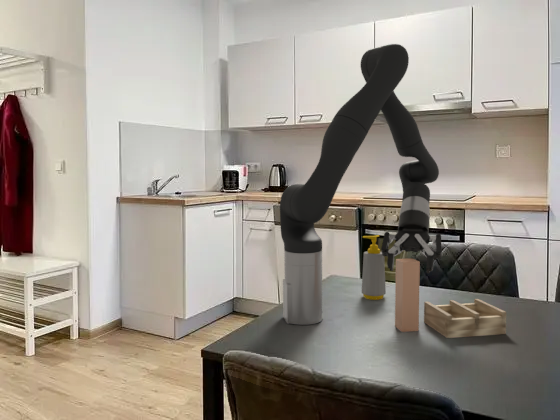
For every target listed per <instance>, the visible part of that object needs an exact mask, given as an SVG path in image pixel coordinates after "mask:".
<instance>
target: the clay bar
mask: <svg viewBox="0 0 560 420" xmlns="http://www.w3.org/2000/svg"><path fill="white" fill-rule="evenodd" d="M420 262H421V261H419V260H416V259H414V258H395V288H394V290H395V291H394V293H395V294H394V295H395V296H394V297H395V300H394V304H395V305H394V327H395V328H396V329H398V330H399V331H400V332H401V333H406V332H407V333H408V332H419V328H420V324H419V323H420V275H421V271H420V270H421V268H420V267H421V265H420V264H421V263H420Z"/></svg>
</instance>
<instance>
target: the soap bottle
mask: <svg viewBox="0 0 560 420" xmlns="http://www.w3.org/2000/svg"><path fill="white" fill-rule="evenodd" d="M379 237H380V235H379V234H378V235H377V234H376V235H363V236H362V238H363V239H369V240H371V242H372V244H370V245H369V247H368V248H367V251H364V252H363V258H362V259H363V260H362V263H363V264H362V273H361V274H362V277H361V294H363V298H364V299H367V300H372V301H373V300H374V301H375V300H376V301H377V300H382V299H384V296H385V295H386V294H387V292H386V270H385V268H386V267H385V256H383V255H382V251H381V249H380V248H379V245H378V244H376V242H377V238H379Z"/></svg>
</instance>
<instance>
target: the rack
mask: <svg viewBox="0 0 560 420" xmlns="http://www.w3.org/2000/svg"><path fill="white" fill-rule="evenodd" d="M473 301H474V302H467V303H460V302H458V301H455V300H454V299H450V300H449V303H448V304H433V303H432V302H430V301H424V302H423V305H424V306H423V308H424V309H423V322H424V323H425V324H426V325H427V326H429V327H430V328H432V329H433V330H435V331H436V332H438V333H439V334H441V335H442V336H444V337H445V338H446V339H453V338H466V337H467V338H468V337H482V336H495V335H497V336H498V335H506V334H507V333H506V331H507V311H505V310H503V309H501V308H498V307H497V306H494V305H492V304H490V303H488V302H485V301H484V300H482V299H480V298H474V299H473Z"/></svg>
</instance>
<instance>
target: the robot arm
mask: <svg viewBox="0 0 560 420" xmlns="http://www.w3.org/2000/svg"><path fill="white" fill-rule="evenodd" d="M409 58H410V57H409V54H408V51H407V49H406V47H404V46H403V45H401V44H398V43H390V44H389V43H388V44H385V45H379V46H377V47H373V48H370V49H368V50H366V51H365V52H364V53H363V55H362V57H361V60H360V70H361V74H362V76H363V79H364V81H365V84H364V86H363V87H362V88H361V89H360V90H359V91H357V92H356V93H355V94H354V95H353V96H352V97H351V98H350V99H349V100H347V101H346V102H345V103H344V104H343V105H341V107H340V108H339V110H338V111H337V112H336V113H335V115H334V117H333V118H332V120H331V122H330V123H329V125H328V127H327V128H326V131H325V133H324V136H323V137H322V138H323V139H322V145H321V150H320V151H321V152H320V157H319V159H318V160H319V161H318V163H317V165H316V167H315V169H314V170H313V172H312V173H311V175H310V177H309V178H308V179H307V180H306V182H305V183H304V184H303V183H299V184H298V183H297V184H294V183H293V184H291V185H289V186H287V188H285V189H284V190H283V192H282V194H281V198H280V202H279V217H280V218H279V219H280V234H281V239H282V242H283V244H284V246H283V247H284V248H283V250H284V251H283V252H284V253H283V254H284V255H283V256H284V257H283V258H284V262H283V263H284V278H283V279H282V317H283V319H284V320H285V322H286V324H292V325H293V324H294V325H301V326H302V325H303V326H307V325H314V324H319V323H321V322H322V320H323V240H322V238H321V237H320V236H319V235H318V233H317V231H316V228H315V224H316V223H318V222H319V221H321V220H322V219H323V218H324V217H325V216H326V214H327V212H328V210H329V207H330V206H331V204H332V201H333V199H334V196H335V194H336V193H337V190H338V188H339V185H340V183H341V181H342V179H343V177H344V175H345V173H346V171H347V170H348V168H349V167H350V164H351V163H352V162H353V159H354V157H355V155H356V154H357V153H358V151H359V149H360V147H361V145H362V144H363V143H364V141H365V138H366V137H367V135H368V134H369V131H370V130H371V127H372V126H373V124H374V122H375V121H376V119H377V118H378V116H379V114H380V113H382V115H383V117H384V119H385V121H386V123H387V124H388V127H389V130H390V134H391V136H392V140H393V141H394V146H395V147H396V151H397V153H398V155H399V156H400V157H404V158H413V159H415V160H411V161H407V162H404V163H403V164H401V166H400V168H399V169H398V175H399V180H400V183H401V187H402V200H401V205H400V211H399V217H398V225H397V232H396V234H390V232H389V231H386V232H384V234H383V239H382V244H381V247H380V248H381V249H380V252H382V255H383V256H384V257H387V260H386V265H387V266H386V267H387V269H389V272H393V271H394V267H395V266H394V265H395V258H396V257H397V256H398V255H400V254H401V253H403V251H405V252H406V253H407V252H408V253H409V252H410V253H411V252H413V253H419V252H421V254H422V255H423V256H425V257H426V267H425V268H426V270H425V271H426V274H431V272H433V270H434V261H435V260H442V259H443V257H442V256H443V251H442V249H443V248H442V235H441V233H436V234H435V235H430V234H429V232H430V231H429V229H430V219H431V212H430V211H431V209H430V201H431V200H430V197H431V189H430V188H429V186H428V185H427V184H431V183H434V182H436V181H437V180H438V179H439V175H440V170H439V165H438V164H437V163H436V160H435V159H434V158H433V156H432V155H431V154H430V152H429V151H428V149H427V147H426V146H425V144H424V141H423V140H422V136H421V132H420V129H419V127H418V123H417V122H416V120H415V118H414V116H413V115H412V113H410V111H409V110H408V108H407V107H406V106H404V104H403V103H402V101H401V100H400V99H399V98H398V96H397V95H396V93H395V91H394V90H395V89H396V88H397V87H398V85H399V84H400V83H401V81H402V80H403V78H404V77H405V75H406V73H407V70H408V68H409V64H410V63H409V60H410V59H409ZM394 241H395V243H393V242H394ZM430 242H431V243H432V245H434V246H435V248H436V249H435V251H433V250H432V249H431V248H430V246H429V243H430ZM391 243H393V246H392V247H391V248H390V247H389V246H390V244H391Z"/></svg>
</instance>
